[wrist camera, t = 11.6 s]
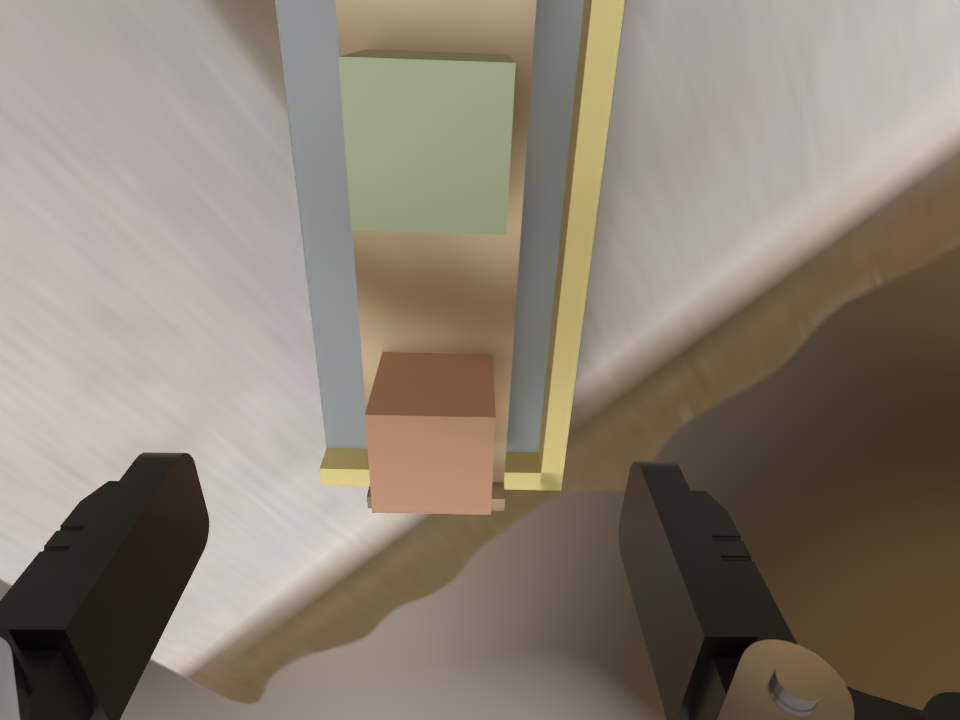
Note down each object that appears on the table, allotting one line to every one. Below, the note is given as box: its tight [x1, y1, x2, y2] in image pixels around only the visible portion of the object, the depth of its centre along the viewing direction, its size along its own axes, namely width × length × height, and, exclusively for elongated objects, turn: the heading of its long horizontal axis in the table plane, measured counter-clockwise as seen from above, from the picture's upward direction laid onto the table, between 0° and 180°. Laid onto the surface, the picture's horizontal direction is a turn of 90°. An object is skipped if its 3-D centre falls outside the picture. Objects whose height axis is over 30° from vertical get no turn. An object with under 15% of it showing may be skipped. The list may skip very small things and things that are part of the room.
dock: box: [275, 0, 625, 490], centre depth 24 cm, size 22×11×6 cm, turn 178°
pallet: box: [335, 0, 537, 510], centre depth 21 cm, size 19×6×4 cm, turn 178°
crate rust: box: [365, 352, 496, 515], centre depth 21 cm, size 4×4×4 cm
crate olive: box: [338, 50, 516, 235], centre depth 16 cm, size 4×4×4 cm
